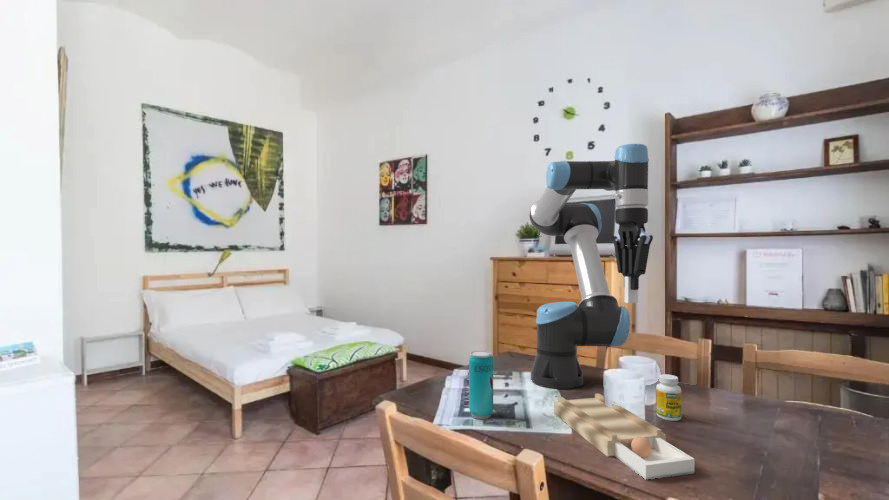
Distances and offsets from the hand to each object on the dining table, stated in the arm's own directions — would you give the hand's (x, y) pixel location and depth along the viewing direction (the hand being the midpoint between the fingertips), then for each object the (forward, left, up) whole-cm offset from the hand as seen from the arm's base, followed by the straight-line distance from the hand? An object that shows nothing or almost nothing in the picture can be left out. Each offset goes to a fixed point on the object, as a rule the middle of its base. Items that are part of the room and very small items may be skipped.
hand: (631, 302), depth 109 cm
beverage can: (-4, -38, -27) cm, 46 cm away
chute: (+10, -14, -26) cm, 31 cm away
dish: (+25, -14, -26) cm, 39 cm away
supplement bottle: (+7, +5, -27) cm, 28 cm away
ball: (+23, -15, -24) cm, 36 cm away
